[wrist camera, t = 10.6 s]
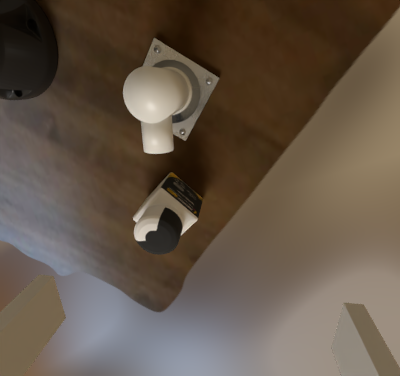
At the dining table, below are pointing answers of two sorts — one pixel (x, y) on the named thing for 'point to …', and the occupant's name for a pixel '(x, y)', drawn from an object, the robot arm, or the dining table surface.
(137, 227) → the medicine bottle
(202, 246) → the dining table surface
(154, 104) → the elbow
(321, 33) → the dining table surface
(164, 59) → the flange plate
